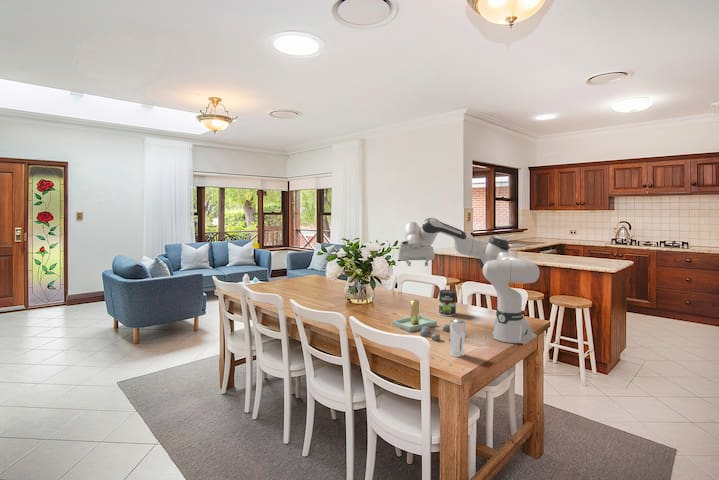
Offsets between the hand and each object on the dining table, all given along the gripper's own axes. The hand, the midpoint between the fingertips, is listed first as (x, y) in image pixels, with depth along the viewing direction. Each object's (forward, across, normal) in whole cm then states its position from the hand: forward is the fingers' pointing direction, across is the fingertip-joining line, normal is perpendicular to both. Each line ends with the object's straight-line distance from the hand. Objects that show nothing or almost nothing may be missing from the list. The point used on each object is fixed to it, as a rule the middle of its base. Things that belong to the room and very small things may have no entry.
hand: (418, 265), depth 207 cm
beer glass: (+54, -8, +7) cm, 55 cm away
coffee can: (+9, -23, -38) cm, 46 cm away
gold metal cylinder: (+23, +2, -23) cm, 33 cm away
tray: (+24, +2, -23) cm, 33 cm away
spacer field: (+36, -8, -11) cm, 39 cm away
